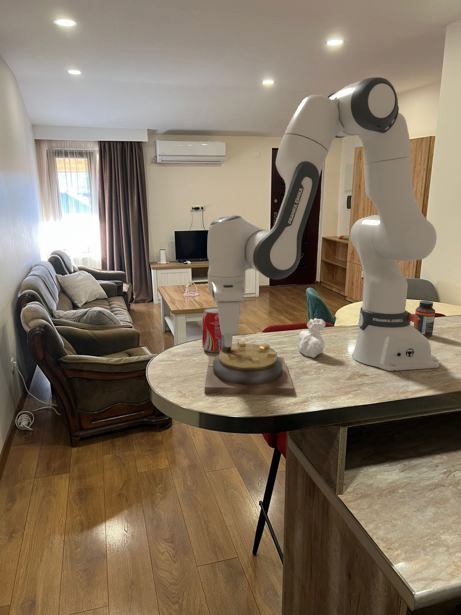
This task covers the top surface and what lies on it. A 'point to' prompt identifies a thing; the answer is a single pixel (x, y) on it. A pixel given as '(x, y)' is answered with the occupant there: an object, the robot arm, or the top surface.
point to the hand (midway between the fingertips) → (227, 342)
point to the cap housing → (247, 379)
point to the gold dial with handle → (247, 356)
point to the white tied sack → (311, 338)
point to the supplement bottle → (425, 318)
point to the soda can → (211, 330)
